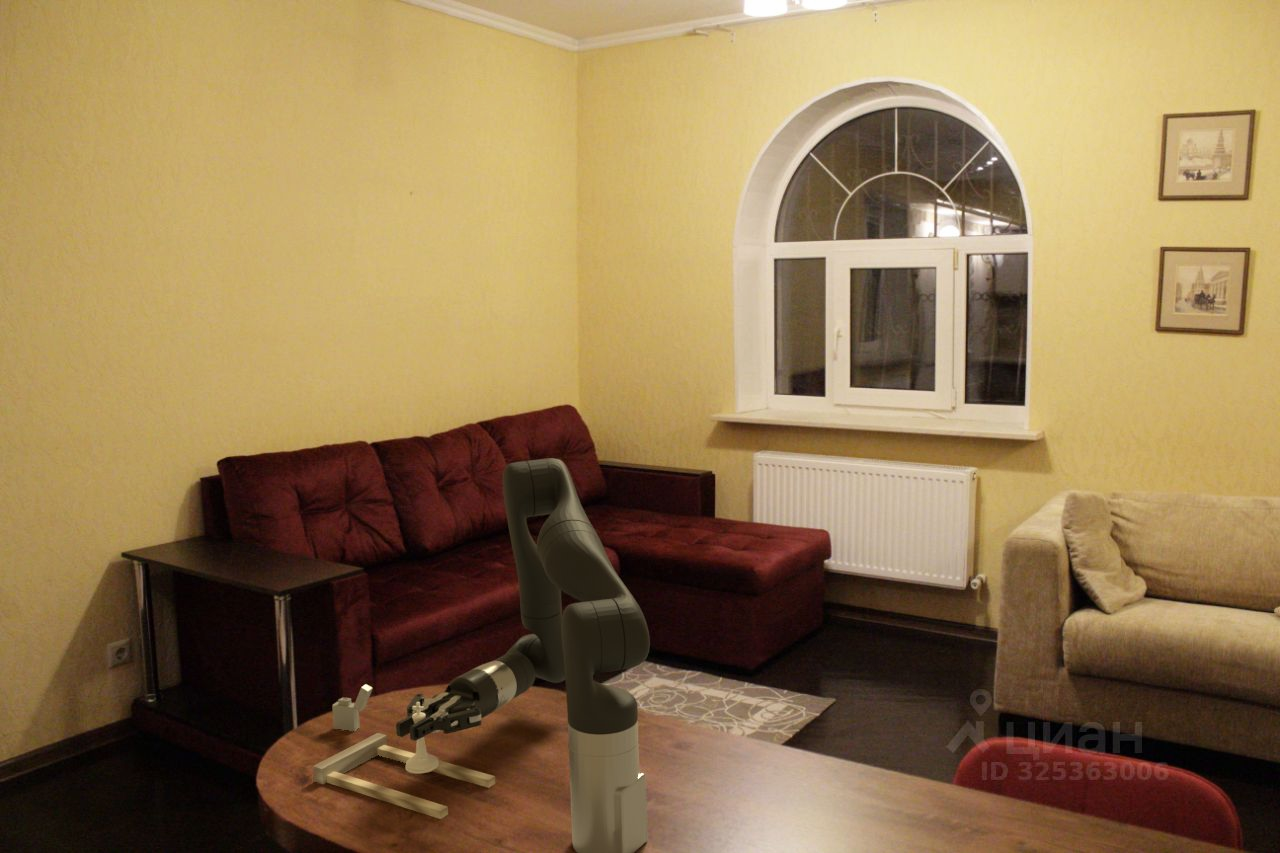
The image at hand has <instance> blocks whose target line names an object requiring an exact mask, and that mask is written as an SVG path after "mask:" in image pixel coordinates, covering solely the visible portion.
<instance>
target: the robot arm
mask: <svg viewBox="0 0 1280 853" xmlns="http://www.w3.org/2000/svg"><path fill="white" fill-rule="evenodd" d="M577 492H578V491H577V490H576V487H575V484H574V482H573V479H572V476H571V473H570V471H569V469H568V467H567V466H566V464H565V463H564V461H563V460H561V459H559V458H554V457H553V458H552V457H551V458H549V457H548V458H540V459H532V460H523V461H515V462H510V463H508V464H506V466H505V468H504V470H503V474H502V494H503V499H504V500H503V501H504V507H505V514H506V519H507V524H508V530H509V531H508V532H509V537H510V538H509V539H510V542H511V548H512V554H513V558H514V562H515V567H516V573H517V580H518V590H519V592H518V593H519V604H520V605H519V606H520V618H521V624H522V625H523V627H524V628H525V629H526V630H528V631H530V632H531V633H530V634H525V635H522V636H521V637H519V639H517V641H516V642H515V643H514V644H513V645H512V646H511V647H510V648H509V649H508V650H507V652H506V653H505V654H503V655H502V656H500V657H498V658H496V659H494V660H492V661H489V662H486V663H483V664H481V665H479V666H476V667H475V668H472V669H471V670H469V671H467V672H465V673H463V674H461V675H458V676H456V677H455V678H453V679H452V680H451V681H450V682H449V683H448V684H447V687H446V688H445V690H444V691H443V692H441V693H436V694H435V695H433V696H432V697H431V698H430V697H429V698H425V697H424V694H423V693H416V694H415V695H414V697H413V698H412V699H411V701H410V703H409V704H408V705H407V707H406V715H407V716H406V717H405V718H403V719H401V720H399V721H397V722H396V725H395V727H396V735H397V737H400V738H403V737H405V736H407V735H409V736H410V737H409V738H410V741H414V742H417V740H418V739H420V738H422V737H424V738H425V737H426V736H428V735H429V734H436V733H437V734H439V733H440V732H441V731H442V733H443V734H447V735H448V734H452V733H457V732H460V731H465V730H467V729H472V728H476V727H479V726H482V719H484V718H485V717H487V716H489V715H490V714H493V713H494V712H496V711H498V710H499V709H501V708H502V707H505V705H507V704H508V703H509V702H510V701H512V700H514V699H515V698H517V697H519V696H521V695H522V694H524V693H525V692H527V691H528V690H529V689H531V688H532V686H533V685H534V682H535V681H536V678H538V679H541V680H544V681H547V682H550V683H561V682H564V681H565V696H566V697H565V698H566V709H567V731H568V732H567V733H568V734H567V735H568V760H569V761H568V764H569V765H568V766H569V785H570V786H569V788H570V789H569V791H570V814H571V815H570V816H571V837H572V838H571V842H572V844H571V845H572V848H573V849H574V850H575V852H576V853H635V852H637V851H638V850H639V849H640V848H641V847H642V846H643V845H644V844H645V843H647V842H648V809H647V808H648V807H647V806H648V804H647V803H648V802H647V775H646V774H645V772H640V756H639V755H640V754H639V752H640V751H639V712H638V711H639V710H638V702H637V699H636V696H634V695H633V694H632V693H631V692H630V691H627V690H625V689H624V688H619V687H616V686H612V685H608V684H604V683H603V684H602V683H601V682H598V681H596V680H594V678H593V677H594V674H600V673H608V672H615V671H622V670H627V669H631V668H636V667H638V666H640V665H642V664H643V663H644V662H645V661H646V660H647V657H648V654H649V653H650V647H651V646H650V645H651V638H650V632H649V628H648V624H647V621H646V618H645V616H644V615H645V614H644V613H643V611H642V608H641V607H640V605H639V603H638V602H637V600H636V598H634V596H633V594H632V592H630V590H629V589H628V587H627V586H626V585H625V583H624V582H623V580H622V579H621V577H619V575H618V573H617V572H616V570H615V568H614V566H613V565H612V563H611V561H610V559H609V557H608V554H607V552H606V550H605V547H604V546H603V543H602V541H601V539H600V537H599V535H598V533H597V531H596V529H595V528H594V526H593V524H591V523H592V522H590V520H589V518H588V515H587V514H586V511H585V510H584V508H583V506H582V504H581V501H580V498H579V496H578V495H579V494H578V493H577ZM545 515H549V516H548V518H546V520H545V522H544V523H543V525H542V526H541V529H540V530H539V533H538V536H537V540H536V542H535V541H534V539H533V537H532V535H531V532H530V530H529V528H528V522H527V518H531V517H538V516H540V517H541V516H545ZM562 592H563V593H565V594H566V595H568V596H570V597H571V598H574V599H576V600H577V601H580V602H574V603H570V604H568V605H567V606H566V607H565V608H564V610H563V609H562ZM417 702H420V706H424V710H421V712H423V713H425V714H426V717H425V719H423V720H421V721H419V722H417V723H416V724H415V723H414V721H413V719H412V715H413V714H415V713H417V710H413V709H412V707H413V706H416V703H417Z"/></svg>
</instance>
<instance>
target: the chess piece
mask: <svg viewBox="0 0 1280 853" xmlns="http://www.w3.org/2000/svg"><path fill="white" fill-rule="evenodd" d="M412 709H413V710H417V713H415V714H413V715H412V719H413V721H414V723H415V724H416V723H417V722H419V721H421V720H423V719H425V717H426V714H425V713H423V712H421V710H424V706H420V702H417V703H416V706H413V707H412ZM438 760H439V758H438V757H437V756H436V755H433V754H431V753H429V752H427V747H426V742H425V736H424V737H422V738H420V739H418V740H417V741H416V746H415V755H414V757H411V758H410V759H408V760H407V762H406V764H405V770H406V771H407V772H408V773H411V774H415V775H416V774H425V773H430V772H433V771H432V770H434V769H436V768H437V767H438V765H439V762H438Z"/></svg>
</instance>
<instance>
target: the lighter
mask: <svg viewBox="0 0 1280 853" xmlns="http://www.w3.org/2000/svg"><path fill="white" fill-rule="evenodd" d="M372 691H373V687H372V686H371V685H368V684H367V683H366V684H364V685H363V686H361V687H360V689H359V692H358V694H357V697H356V700H355V702H352V698H350V697H341V698H338V700H337V701H336V702H335V703H333V704H332V720H333V730H334V729H342V730H341V731H344V730H349V731H348V732H353V731H354V732H356V731H357V729H358V728H359V729H360V726H361V725H360V714H359V713H360V712H361V711H362V710H364V709H365V708H366V706H367V703H368V701H369V699H370V696H371V694H372ZM359 729H358V730H359Z"/></svg>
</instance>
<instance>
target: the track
mask: <svg viewBox="0 0 1280 853" xmlns="http://www.w3.org/2000/svg"><path fill="white" fill-rule="evenodd" d="M415 754H416V752H411V751H409V750H408V751H407V750H405V749H400V748H397V747H393V746H390V745H388V735H387V734H384V733H380V732H377V733H375V734H373V735H370V736H369V737H367V738H365V739H363V740H361V741H359V742H357V743H356V744H354V745H351V746H350V747H348V748H346V749H344V750H342V751H339V752H337V753H336V754H334V755H332V756H330V757H328V758H326V759H324V760H321V761H320V762H318V763H316V764H315V765H312V773H313V783H316V782H317V784H319V785H325V784H326V783H327V784H330V785H334V786H336V787H339V788H343V789H345V790H348V791H352V792H355V793H357V794H361V795H364V796H368V797H370V798H374V799H376V800H379V801H382V802H386V803H389V804H391V805H395V806H398V807H402V808H404V809H408V810H411V811H414V812H417V813H420V814H423V815H427V816H428V817H429V816H430V817H432V818H436V819H439V820H442V819H444V818H445V817H447V816H449V808H448V807H449V806H447V805H443V804H440V803H437V802H434V801H430V800H427V799H425V798H421V797H418V796H415V795H412V794H408V793H405V792H402V791H398V790H396V789H393V788H389V787H387V786H383V785H379V784H376V783H374V782H369V781H368V780H364V779H361V778H357V777H354V776H351V775H348V774H346V773H348V772H349V771H351V770H353V769H355V768H357V767H359V766H360V764H361V765H362V764H364V763H366V762H368V761H369V760H371V758H372V759H373V758H375V757H377V756H378V755H379V757H381V756H382V757H381V758H385V757H386V758H385V759H388V758H390V759H389V760H392V759H393V761H395V760H396V761H395V762H398V761H400V762H399V763H402V762H403V764H405V763H406V762H407V760H408V759H410V758H411V757H414V755H415ZM438 762H439V765H438V767H437V768H436V769H434V770H432V771H431V772H432V773H437V774H440V775H443V776H448V777H450V778H454V779H457V780H461V781H463V782H467V783H469V784H470V783H471V784H474V785H478V786H481V787H484V788H488V789H490V788H491V787H492V786H494V785H496V775H492V774H488V773H484V772H481V771H479V770H478V771H477V770H475V769H470V768H468V767H464V766H461V765H458V764H457V765H456V764H453V763H449V762H447V761H443V760H440V759H438ZM358 765H359V766H358ZM347 771H348V772H347Z"/></svg>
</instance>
